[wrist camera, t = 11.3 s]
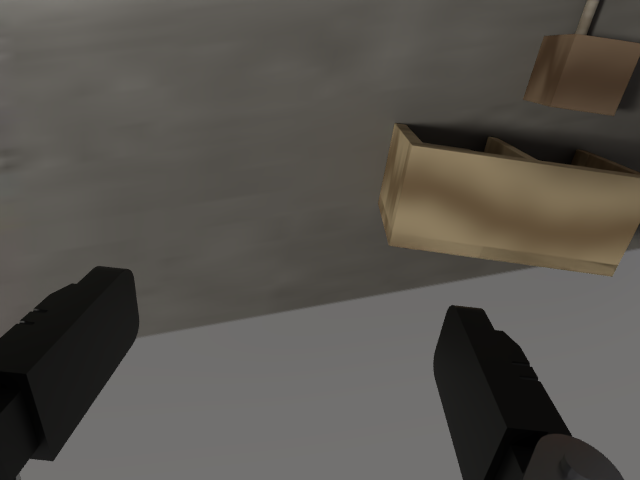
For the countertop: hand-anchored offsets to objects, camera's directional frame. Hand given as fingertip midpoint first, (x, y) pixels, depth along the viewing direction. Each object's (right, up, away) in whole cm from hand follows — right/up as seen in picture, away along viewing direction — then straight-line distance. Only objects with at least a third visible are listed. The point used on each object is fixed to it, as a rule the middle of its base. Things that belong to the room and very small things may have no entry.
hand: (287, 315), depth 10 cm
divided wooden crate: (+15, +8, +27) cm, 32 cm away
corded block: (+21, +20, +21) cm, 36 cm away
